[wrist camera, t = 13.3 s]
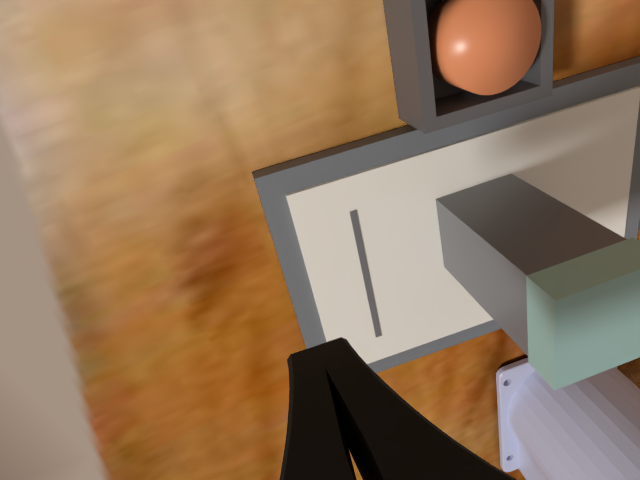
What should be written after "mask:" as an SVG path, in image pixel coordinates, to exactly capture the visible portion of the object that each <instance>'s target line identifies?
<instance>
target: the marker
mask: <svg viewBox="0 0 640 480" xmlns="http://www.w3.org/2000/svg"><path fill="white" fill-rule="evenodd" d="M436 207H437V215H438V222H439V230H440V238H441V246H442V254H443V262H444V267H445V268H446V269H447V270H448V271H449V272H450V274H451V275H452V276H453V277H454V278H455V279H456V280H457V281H458V282H459V283H460V284H461V285H462V286H463V287H464V288H465V290H466V291H467V292H468V293H469V294H470V295H471V296H472V297H473V298H474V299H475V300H476V301H477V302H478V303H479V304H480V306H481V307H482V308H483V309H484V310H485V311H486V312H487V313H488V314H489V315H490V316H491V317H492V318H493V319H494V321H495V322H496V323H497V324H498V325H499V326H500V327H501V328H502V329H503V330H504V331H505V332H506V333H507V334H508V335H509V337H510V338H511V339H512V340H513V341H514V342H515V343H516V344H517V345H518V346H519V347H520V348H521V349H522V350H523V351H524V353H525V354H526V355H527V356H528V363H529V364H530V365H531V366H532V367H533V368H534V369H535V370H536V371H537V372H538V373H539V374H540V376H541V377H542V378H543V379H544V380H545V381H546V382H547V383H548V384H549V385H550V386H551V387H552V389H553V390H554V391H555V390H557V389H560V388H562V387H565V386H568V385H570V384H573V383H575V382H578V381H580V380H583V379H585V378H588V377H591V376H593V375H596V374H598V373H601V372H603V371H606V370H609V369H611V368H614V367H616V366H619V365H621V364H624V363H626V362H629V361H632V360H634V359H637V358H639V357H640V241H639V240H637V239H635V238H633V237H632V238H629V239H626V238H624V237H622V236H620V235H619V234H617V233H615V232H613V231H612V230H610V229H608V228H606V227H604V226H603V225H601V224H599V223H597V222H596V221H594V220H592V219H590V218H589V217H587V216H585V215H583V214H582V213H580V212H578V211H576V210H575V209H573V208H571V207H569V206H567V205H566V204H564V203H562V202H560V201H559V200H557V199H555V198H553V197H552V196H550V195H548V194H546V193H545V192H543V191H541V190H539V189H538V188H536V187H534V186H532V185H530V184H529V183H527V182H525V181H523V180H522V179H520V178H518V177H516V176H515V175H513V174H508V175H505V176H502V177H499V178H496V179H493V180H490V181H487V182H484V183H481V184H478V185H475V186H472V187H469V188H467V189H464V190H461V191H458V192H455V193H452V194H449V195H446V196H443V197H440V198H437V199H436Z"/></svg>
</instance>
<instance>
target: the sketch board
mask: <svg viewBox="0 0 640 480" xmlns="http://www.w3.org/2000/svg"><path fill="white" fill-rule="evenodd" d="M252 174H253V178H254V181H255V184H256V187H257V190H258V194H259V197H260V200H261V203H262V207H263V210H264V213H265V216H266V220H267V223H268V226H269V229H270V233H271V236H272V239H273V242H274V246H275V249H276V252H277V255H278V258H279V262H280V265H281V268H282V271H283V275H284V278H285V281H286V284H287V288H288V291H289V294H290V297H291V301H292V304H293V307H294V310H295V314H296V317H297V320H298V323H299V326H300V330H301V333H302V336H303V339H304V343H305V346H306V349H308V348H311V347H314V346H317V345H320V344H323V343H325V342H328V341H331V340H334V339H337V338H340V337H342V338H345V339H347V341H348V342H349V343H350V345H351V346H352V347H353V349H354V350H355V351H356V352H357V354H358V355H359V356H360V357H361V358H362V359H363V360H364V362H365V363H366V364H367V365H368V366H369V367H370V368H371V369H372V370H373V371H374V372H375V373H378V372H381V371H383V370H386V369H389V368H392V367H395V366H397V365H400V364H403V363H406V362H409V361H411V360H414V359H417V358H420V357H423V356H425V355H428V354H431V353H434V352H437V351H439V350H442V349H445V348H448V347H451V346H453V345H456V344H459V343H462V342H465V341H467V340H470V339H473V338H476V337H479V336H482V335H484V334H487V333H490V332H493V331H496V330H498V329H501V327H500V326H499V325H498V324H497V323H496V322H495V321H494V319H493V318H492V317H491V316H490V315H489V314H488V313H487V312H486V311H485V310H484V309H483V308H482V307H481V306H480V304H479V303H478V302H477V301H476V300H475V299H474V298H473V297H472V296H471V295H470V294H469V293H468V292H467V291H466V290H465V288H464V287H463V286H462V285H461V284H460V283H459V282H458V281H457V280H456V279H455V278H454V277H453V276H452V275H451V274H450V272H449V271H448V270H447V269H446V268H445V267H444V262H443V254H442V246H441V238H440V230H439V222H438V215H437V207H436V199H437V198H440V197H443V196H446V195H449V194H452V193H455V192H458V191H461V190H464V189H467V188H469V187H472V186H475V185H478V184H481V183H484V182H487V181H490V180H493V179H496V178H499V177H502V176H505V175H508V174H513V175H515V176H516V177H518V178H520V179H522V180H523V181H525V182H527V183H529V184H530V185H532V186H534V187H536V188H538V189H539V190H541V191H543V192H545V193H546V194H548V195H550V196H552V197H553V198H555V199H557V200H559V201H560V202H562V203H564V204H566V205H567V206H569V207H571V208H573V209H575V210H576V211H578V212H580V213H582V214H583V215H585V216H587V217H589V218H590V219H592V220H594V221H596V222H597V223H599V224H601V225H603V226H604V227H606V228H608V229H610V230H612V231H613V232H615V233H617V234H619V235H620V236H622V237H624V238H626V239H629V238H632V237H633V238H635V239H637V237H638V229H639V221H640V56H638V57H634V58H631V59H628V60H624V61H621V62H618V63H614V64H611V65H608V66H604V67H601V68H598V69H594V70H591V71H588V72H584V73H581V74H578V75H574V76H571V77H568V78H564V79H561V80H558V81H554V82H553V88H552V96H549V97H546V98H543V99H539V100H536V101H533V102H529V103H526V104H523V105H520V106H516V107H513V108H510V109H506V110H503V111H500V112H496V113H493V114H490V115H487V116H483V117H480V118H477V119H473V120H470V121H467V122H463V123H460V124H457V125H454V126H450V127H447V128H444V129H440V130H437V131H434V132H430V133H427V134H424V133H423V132H421V131H419V130H418V129H416V128H414V127H413V126H411V125H407V126H404V127H401V128H397V129H394V130H391V131H387V132H384V133H381V134H377V135H374V136H371V137H367V138H364V139H361V140H357V141H354V142H351V143H347V144H344V145H341V146H337V147H334V148H331V149H327V150H324V151H321V152H317V153H314V154H311V155H307V156H304V157H301V158H297V159H294V160H291V161H287V162H284V163H281V164H277V165H274V166H271V167H267V168H264V169H261V170H257V171H254V172H252Z"/></svg>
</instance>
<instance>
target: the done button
mask: <svg viewBox="0 0 640 480" xmlns="http://www.w3.org/2000/svg"><path fill="white" fill-rule="evenodd" d="M427 25H428V35H429V45H430V55H431V66H432V72H433V74H434V75H435V76H436V77H437V78H439V79H440V80H441V81H443V82H445V83H448V84H450V85H453V86H456V87H459V88H461V89H464V90H467V91H470V92H472V93H475V94H479V95H493V94H498V93H500V92H503V91H505V90H507V89H509V88H510V87H512V86H513V85H515V84H516V83H517V82H518V81H519V80H520V79H521V78H522V77H523V76H524V75H525V74H526V72H527V71H528V70H529V68H530V67H531V65H532V63H533V61H534V59H535V57H536V55H537V52H538V49H539V45H540V40H541V20H540V15H539V12H538V9H537V7H536V5H535V3H534V2H533V0H442V1H441V2H440V3H439V4H438V5H437V6H436V8H435V9H434V11H433V12H432V14H431V16H430V18H429V20H428V23H427Z"/></svg>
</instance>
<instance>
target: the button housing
mask: <svg viewBox="0 0 640 480" xmlns="http://www.w3.org/2000/svg"><path fill="white" fill-rule="evenodd" d="M441 1H442V0H383V4H384V11H385V18H386V26H387V33H388V40H389V48H390V55H391V62H392V69H393V77H394V84H395V91H396V99H397V106H398V113H399V118H400V119H401V120H403V121H405V122H406V123H408V124H409V125H411V126H413V127H414V128H416V129H418V130H419V131H421V132H423V133H424V134H427V133H430V132H434V131H437V130H440V129H444V128H447V127H450V126H454V125H457V124H460V123H463V122H467V121H470V120H473V119H477V118H480V117H483V116H487V115H490V114H493V113H496V112H500V111H503V110H506V109H510V108H513V107H516V106H520V105H523V104H526V103H529V102H533V101H536V100H539V99H543V98H546V97H549V96H552V88H553V43H554V0H533V2H534V3H535V5H536V7H537V9H538V12H539V15H540V20H541V40H540V45H539V49H538V52H537V55H536V57H535V59H534V61H533V63H532V65H531V67H530V68H529V70H528V71H527V72H526V74H525V75H524V76H523V77H522V78H521V79H520V80H519V81H518V82H517V83H516V84H515V85H513V86H512V87H510V88H509V89H507V90H505V91H503V92H500V93H498V94H493V95H479V94H475V93H472V92H470V91H467V90H464V89H461V88H459V87H456V86H453V85H450V84H448V83H445V82H443V81H441V80H440V79H439V78H437V77H436V76H435V75H434V74H433V72H432V66H431V55H430V45H429V35H428V25H427V23H428V20H429V18H430V16H431V14H432V12H433V11H434V9H435V8H436V6H437V5H438V4H439V3H440V2H441Z"/></svg>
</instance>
